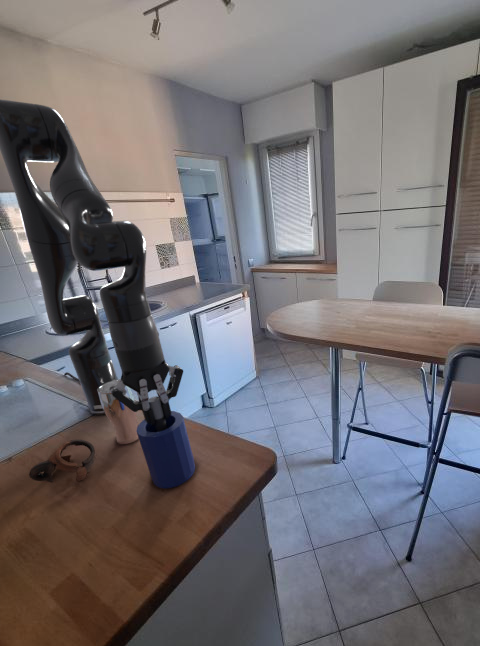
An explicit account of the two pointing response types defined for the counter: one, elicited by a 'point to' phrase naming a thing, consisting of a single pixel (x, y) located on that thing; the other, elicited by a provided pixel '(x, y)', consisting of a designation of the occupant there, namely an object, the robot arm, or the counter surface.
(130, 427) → the beer glass
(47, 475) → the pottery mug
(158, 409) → the marker
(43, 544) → the counter surface
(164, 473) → the vase
